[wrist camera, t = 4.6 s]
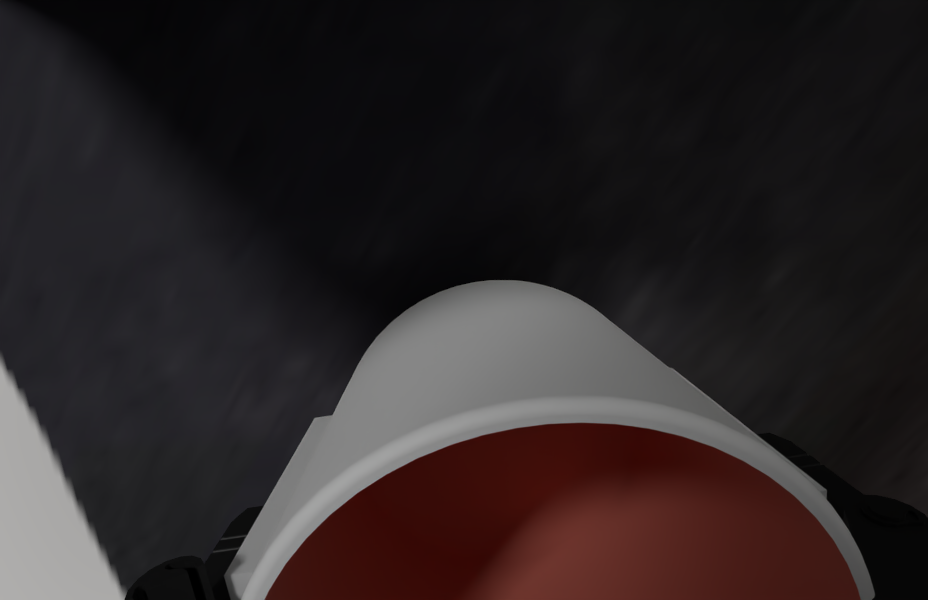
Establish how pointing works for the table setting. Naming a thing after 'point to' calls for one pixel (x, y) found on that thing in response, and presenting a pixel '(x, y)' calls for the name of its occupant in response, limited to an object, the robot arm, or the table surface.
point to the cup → (543, 473)
